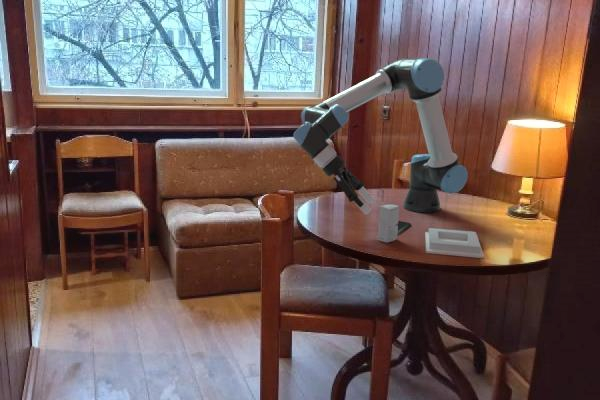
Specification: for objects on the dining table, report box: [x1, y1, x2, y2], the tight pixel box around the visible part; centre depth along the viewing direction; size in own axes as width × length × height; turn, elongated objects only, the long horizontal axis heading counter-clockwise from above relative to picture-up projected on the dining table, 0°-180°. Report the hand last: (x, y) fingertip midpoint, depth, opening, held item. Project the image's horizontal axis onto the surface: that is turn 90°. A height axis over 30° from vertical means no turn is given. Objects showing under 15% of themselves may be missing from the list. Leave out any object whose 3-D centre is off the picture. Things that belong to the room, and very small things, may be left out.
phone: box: [397, 220, 412, 236], centre depth 199 cm, size 8×1×15 cm
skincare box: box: [377, 203, 400, 243], centre depth 184 cm, size 6×4×12 cm
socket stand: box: [424, 227, 485, 259], centre depth 181 cm, size 20×18×3 cm
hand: (370, 207), depth 183 cm, fingers open, 13 cm apart
